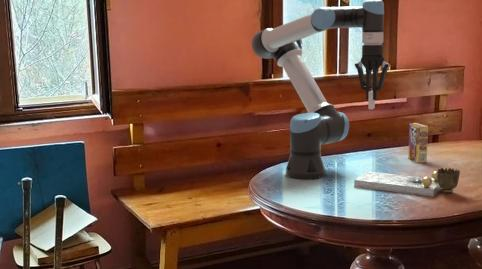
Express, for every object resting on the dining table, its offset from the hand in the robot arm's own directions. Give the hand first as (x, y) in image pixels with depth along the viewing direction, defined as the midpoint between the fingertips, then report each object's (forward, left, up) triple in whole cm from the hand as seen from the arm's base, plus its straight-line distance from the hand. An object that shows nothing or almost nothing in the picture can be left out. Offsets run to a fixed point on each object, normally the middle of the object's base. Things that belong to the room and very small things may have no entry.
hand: (371, 108), depth 230 cm
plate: (+13, -7, -26) cm, 30 cm away
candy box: (+8, +36, -27) cm, 46 cm away
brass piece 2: (+25, -2, -22) cm, 34 cm away
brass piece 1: (+24, -12, -22) cm, 35 cm away
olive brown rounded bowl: (+30, -7, -27) cm, 41 cm away
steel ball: (+20, -7, -25) cm, 32 cm away
